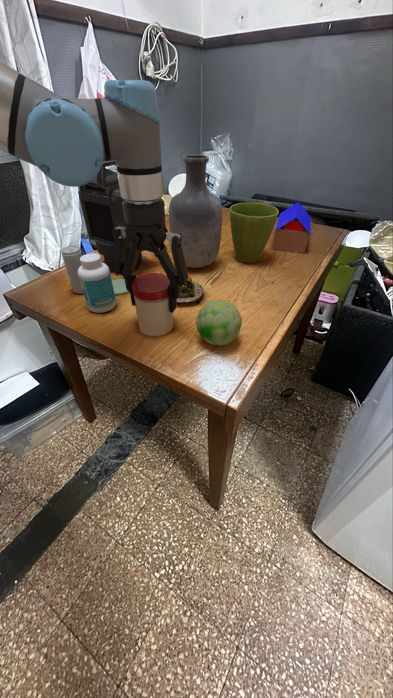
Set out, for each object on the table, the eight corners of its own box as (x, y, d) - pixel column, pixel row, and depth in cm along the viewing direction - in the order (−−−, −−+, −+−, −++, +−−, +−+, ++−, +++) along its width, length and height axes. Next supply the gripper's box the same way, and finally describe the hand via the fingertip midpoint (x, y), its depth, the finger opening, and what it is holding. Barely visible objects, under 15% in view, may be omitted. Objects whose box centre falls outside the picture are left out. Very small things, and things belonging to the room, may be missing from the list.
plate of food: (152, 296, 80) (149, 271, 75) (181, 281, 86) (181, 257, 81) (183, 313, 74) (183, 287, 69) (212, 295, 80) (214, 270, 75)
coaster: (109, 297, 79) (109, 295, 78) (101, 284, 84) (100, 282, 84) (138, 290, 82) (137, 288, 82) (128, 278, 87) (128, 276, 87)
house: (271, 249, 105) (278, 215, 97) (276, 230, 119) (282, 200, 112) (305, 253, 102) (314, 219, 95) (306, 234, 117) (314, 203, 109)
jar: (146, 340, 65) (141, 299, 58) (133, 321, 71) (127, 282, 64) (179, 329, 69) (177, 289, 61) (164, 312, 74) (161, 273, 67)
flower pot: (248, 246, 106) (254, 199, 96) (278, 260, 98) (289, 211, 87) (217, 256, 100) (220, 207, 89) (246, 272, 91) (254, 220, 80)
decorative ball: (237, 328, 69) (242, 291, 63) (239, 356, 62) (245, 318, 55) (197, 326, 70) (197, 290, 63) (194, 353, 62) (194, 316, 55)
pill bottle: (122, 302, 77) (113, 254, 68) (104, 317, 72) (92, 266, 63) (100, 296, 79) (88, 248, 70) (81, 309, 74) (66, 260, 65)
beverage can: (78, 296, 79) (65, 254, 71) (70, 290, 82) (57, 249, 74) (94, 290, 82) (83, 249, 74) (86, 284, 84) (75, 244, 76)
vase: (207, 251, 103) (210, 150, 83) (227, 270, 92) (237, 159, 72) (164, 258, 98) (157, 153, 78) (180, 278, 87) (177, 163, 67)
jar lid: (125, 296, 61) (124, 288, 60) (143, 278, 67) (142, 270, 66) (162, 304, 59) (162, 295, 58) (177, 284, 65) (177, 276, 64)
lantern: (122, 250, 102) (106, 149, 82) (162, 262, 95) (155, 155, 75) (90, 266, 93) (63, 156, 73) (132, 281, 86) (115, 164, 66)
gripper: (206, 198, 51) (203, 305, 66) (100, 188, 56) (120, 290, 71) (193, 210, 46) (193, 323, 61) (78, 198, 50) (104, 306, 66)
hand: (154, 305), depth 66 cm, fingers closed on jar lid, 9 cm apart
